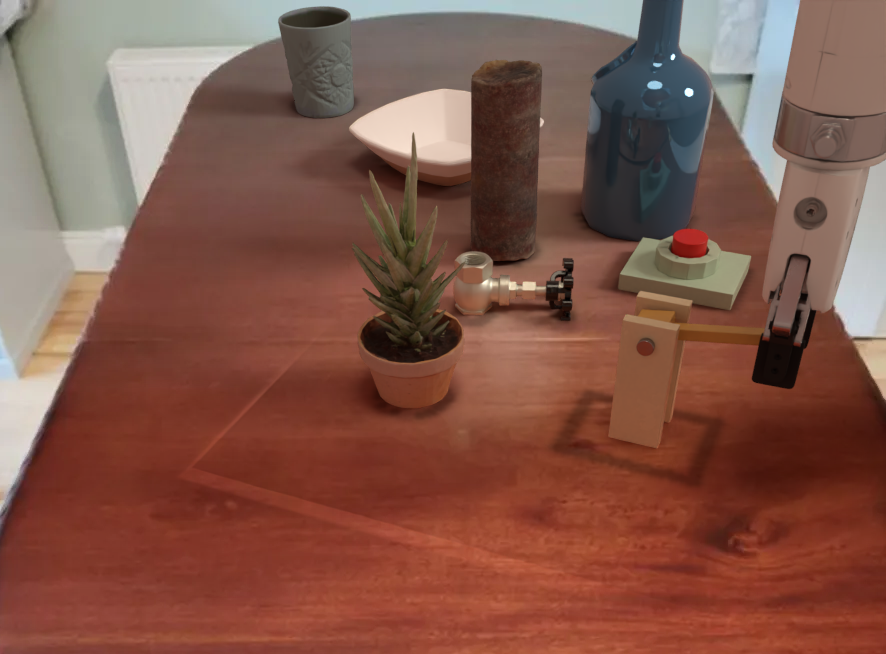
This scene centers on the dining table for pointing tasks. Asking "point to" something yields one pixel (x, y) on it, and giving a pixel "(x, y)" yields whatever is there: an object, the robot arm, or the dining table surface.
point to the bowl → (423, 135)
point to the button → (689, 243)
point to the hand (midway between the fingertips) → (780, 361)
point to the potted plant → (407, 306)
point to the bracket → (647, 370)
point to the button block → (685, 273)
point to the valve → (505, 286)
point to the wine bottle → (646, 133)
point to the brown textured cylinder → (505, 158)
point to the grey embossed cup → (319, 60)
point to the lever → (708, 330)
